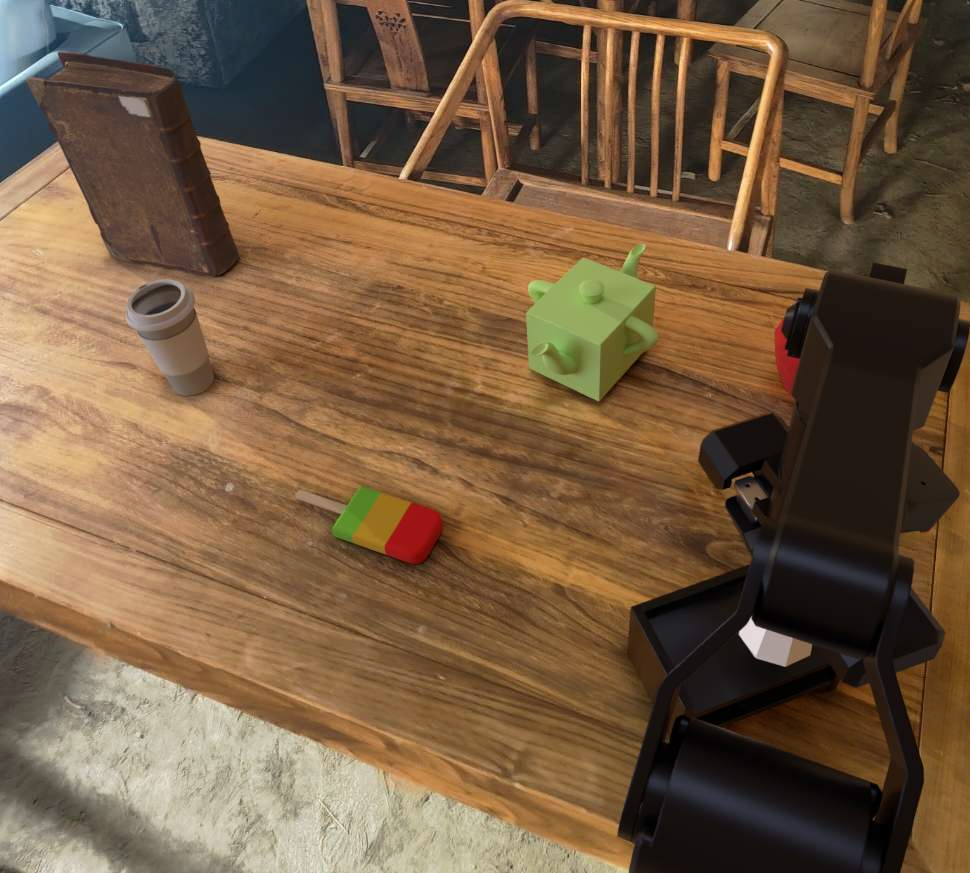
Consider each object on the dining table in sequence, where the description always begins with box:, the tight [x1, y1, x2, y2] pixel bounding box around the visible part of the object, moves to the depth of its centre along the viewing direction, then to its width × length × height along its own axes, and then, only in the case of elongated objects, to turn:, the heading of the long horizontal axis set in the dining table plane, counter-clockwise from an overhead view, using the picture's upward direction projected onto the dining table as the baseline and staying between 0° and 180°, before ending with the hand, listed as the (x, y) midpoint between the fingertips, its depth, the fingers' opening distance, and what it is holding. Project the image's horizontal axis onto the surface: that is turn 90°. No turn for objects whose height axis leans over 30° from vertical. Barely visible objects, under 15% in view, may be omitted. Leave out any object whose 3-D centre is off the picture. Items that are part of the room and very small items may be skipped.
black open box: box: [626, 563, 841, 738], centre depth 73 cm, size 9×14×8 cm, turn 110°
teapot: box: [525, 243, 660, 402], centre depth 96 cm, size 15×13×11 cm
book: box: [26, 50, 240, 278], centre depth 108 cm, size 17×7×25 cm, turn 64°
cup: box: [125, 278, 215, 397], centre depth 98 cm, size 7×7×12 cm
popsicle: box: [294, 485, 444, 565], centre depth 87 cm, size 6×15×2 cm, turn 66°
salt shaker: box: [739, 617, 812, 667], centre depth 63 cm, size 5×5×11 cm
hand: (786, 606), depth 64 cm, fingers closed on salt shaker, 4 cm apart
